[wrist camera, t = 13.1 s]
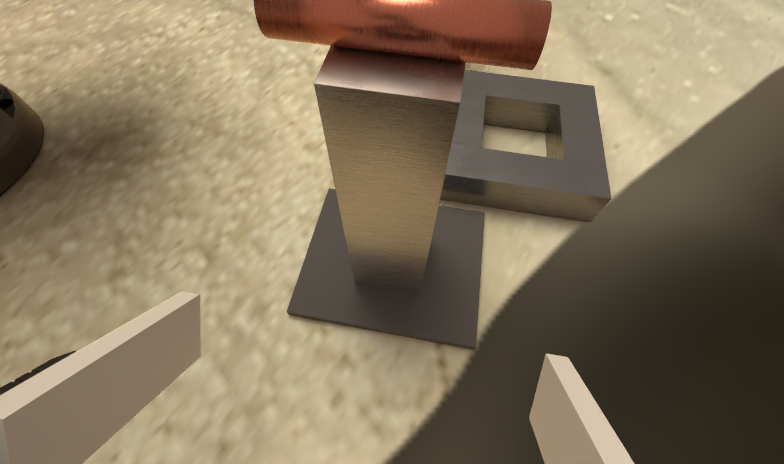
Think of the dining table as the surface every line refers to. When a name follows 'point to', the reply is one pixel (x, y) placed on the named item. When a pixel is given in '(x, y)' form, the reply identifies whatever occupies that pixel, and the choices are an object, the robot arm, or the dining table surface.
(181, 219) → the dining table surface
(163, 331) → the robot arm
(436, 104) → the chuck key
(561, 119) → the grey square ring
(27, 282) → the dining table surface
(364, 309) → the mat
